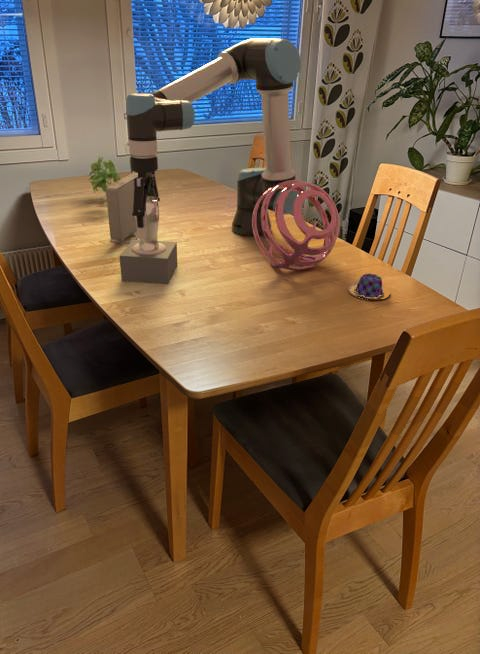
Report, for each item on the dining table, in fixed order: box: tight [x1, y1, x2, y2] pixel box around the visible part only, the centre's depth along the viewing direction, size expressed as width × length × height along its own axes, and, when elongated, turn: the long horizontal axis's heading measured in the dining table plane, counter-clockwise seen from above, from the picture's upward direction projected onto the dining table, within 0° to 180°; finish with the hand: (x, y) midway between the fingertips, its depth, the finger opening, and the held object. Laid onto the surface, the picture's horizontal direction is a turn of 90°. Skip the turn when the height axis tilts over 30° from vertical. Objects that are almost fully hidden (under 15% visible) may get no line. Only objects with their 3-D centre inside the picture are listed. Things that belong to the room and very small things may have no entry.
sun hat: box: [348, 273, 384, 301], centre depth 149 cm, size 12×12×5 cm
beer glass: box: [135, 196, 160, 252], centre depth 149 cm, size 7×7×15 cm
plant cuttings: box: [88, 156, 122, 205], centre depth 220 cm, size 35×17×22 cm
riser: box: [119, 239, 178, 285], centre depth 156 cm, size 14×14×8 cm
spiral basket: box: [252, 179, 341, 272], centre depth 162 cm, size 28×28×27 cm
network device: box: [105, 172, 139, 245], centre depth 183 cm, size 26×9×20 cm, turn 168°
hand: (148, 230), depth 151 cm, fingers open, 13 cm apart
